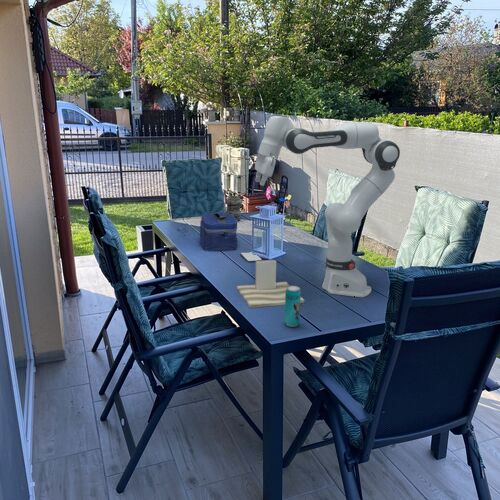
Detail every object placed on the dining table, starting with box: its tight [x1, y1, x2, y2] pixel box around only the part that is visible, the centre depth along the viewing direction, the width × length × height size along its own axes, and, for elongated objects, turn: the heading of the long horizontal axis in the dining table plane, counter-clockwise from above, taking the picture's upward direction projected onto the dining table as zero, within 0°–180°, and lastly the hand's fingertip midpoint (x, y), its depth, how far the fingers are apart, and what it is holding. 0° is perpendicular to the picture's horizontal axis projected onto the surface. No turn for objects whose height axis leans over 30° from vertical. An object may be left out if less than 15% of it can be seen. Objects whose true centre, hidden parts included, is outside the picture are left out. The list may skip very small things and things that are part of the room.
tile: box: [254, 259, 277, 290], centre depth 221 cm, size 9×2×13 cm, turn 105°
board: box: [236, 281, 305, 309], centre depth 217 cm, size 24×24×1 cm
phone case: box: [239, 251, 263, 264], centre depth 272 cm, size 9×2×16 cm
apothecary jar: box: [224, 195, 242, 223], centre depth 362 cm, size 12×12×18 cm
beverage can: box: [284, 285, 302, 328], centre depth 186 cm, size 6×6×15 cm
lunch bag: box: [199, 212, 238, 253], centre depth 293 cm, size 31×21×20 cm
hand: (259, 183), depth 210 cm, fingers open, 8 cm apart
